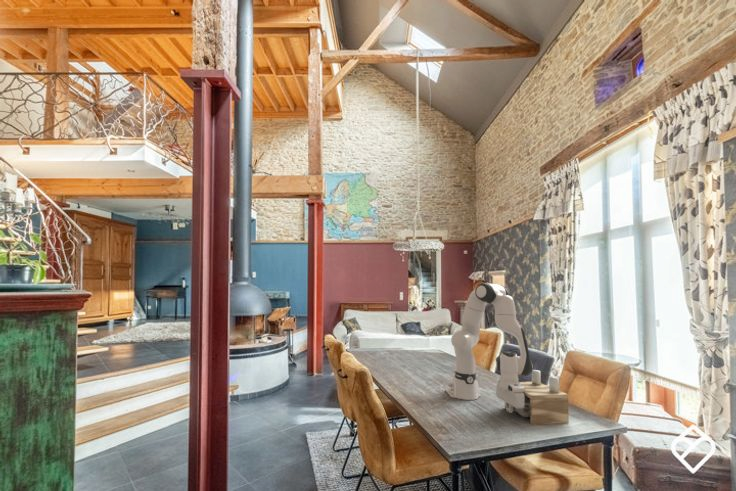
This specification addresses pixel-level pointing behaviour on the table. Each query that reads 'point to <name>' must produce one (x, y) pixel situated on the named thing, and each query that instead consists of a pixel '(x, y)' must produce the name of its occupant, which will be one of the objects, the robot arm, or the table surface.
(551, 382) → the grey upright piece
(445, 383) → the table surface
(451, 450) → the table surface
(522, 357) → the robot arm
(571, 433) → the table surface
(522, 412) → the teacup
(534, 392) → the wooden bridge shelf
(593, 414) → the table surface
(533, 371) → the rounded upright piece
